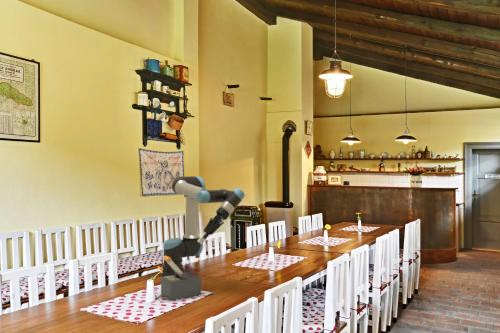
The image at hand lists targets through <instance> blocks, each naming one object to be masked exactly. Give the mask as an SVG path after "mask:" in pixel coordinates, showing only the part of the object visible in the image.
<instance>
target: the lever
mask: <svg viewBox="0 0 500 333" xmlns="http://www.w3.org/2000/svg"><path fill="white" fill-rule="evenodd" d="M162 260H163V261H164V260H165V261H166V262H167V263H168V264H169V265H170V266H171V267H172V268H173V270H174V271H175V272H176V273H177V275H179V276H181V277H182V273H183V272H182V271H181V270H180V269H179V268H178V267H177V266H176V264H175V263H174V262H173V261H172V259H171V258H170V257H168V256H166V255H165V256H164V255H163V256H162Z"/></svg>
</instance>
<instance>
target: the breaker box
mask: <svg viewBox="0 0 500 333" xmlns="http://www.w3.org/2000/svg"><path fill="white" fill-rule="evenodd" d="M162 295H163V296H164V297H163V296H162ZM199 295H201V296H202V276H198V274H197V275H194V274H192V273H182V277H181V276H179V275H177V273H176V272H175V275H172V276H165V277H164V276H160V296H162V297H163V298H165V297H166V298H167V300H168V299H169V300H168V301H170V300H173V301H177V300H176V299H179V300H182V299H181V298H185V299H189V298H188V297H191V298H195V297H194V296H197V297H200V296H199ZM166 298H165V299H166Z"/></svg>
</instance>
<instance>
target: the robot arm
mask: <svg viewBox="0 0 500 333" xmlns="http://www.w3.org/2000/svg"><path fill="white" fill-rule="evenodd" d="M171 182H172V183H171V186H170V187H171V190H172V191H173V192H174V194H177V195H180V196H182V195H183V197H184V198H185V224H184V234H183V235H182V238H180V237H175V238H168V239H166V240H164V242H163V257H164V256H165V255H166V256H168V257H170V258H171V259H172V261H173V262H174V263H175V264H176V266H177V267H178V268H179V269H180V270H181V271H182V272H183V273H184V271H185V268H184V267H183V263H182V258H188V257H196V256H199V255H200V254H202V252H203V249H204V242H205V241H206V239H207V238H209V236H211V235H213V234H214V233H215V232H216V231H217V230H218V229H219V228H220V227H221V226H222V225H224V223H225V222H224V221H225V220H228V218H229V217H230V215H231V214H232V213H233V212H234V210H235V209H236V208H237V206H239V205H240V203H242V201H243V199H244V198H245V196H246V194H245V192H244V191H243V189H240V188H239V187H235V188H233V190H228V189H227V188H226V189H224V188H219V189H206V183H205V181H204V179H203V178H202V177H200V176H192V175H191V176H178V177H176V178H174V179H173V181H171ZM211 203H212V204H213V203H221V205H220V207H218V209H217V210H216V211H215V213H216V215H214V217H211V218H210V219H209V221H208V222H207V224H206V225H205V227H204V229H203V233H202V235H201V236H200V235H199V211H200V209H199V208H200V206H199V205H200V204H211ZM162 269H163V273H161V272H160V277H165V276H172V275H175V271H174V270H173V268H172V267H171V266H170V265H169V264H168V263H167V262H166V261H165V260H164V259H163V264H162V267H161V270H162Z"/></svg>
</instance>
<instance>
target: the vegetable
mask: <svg viewBox="0 0 500 333" xmlns="http://www.w3.org/2000/svg"><path fill="white" fill-rule="evenodd" d="M184 273H192V274H194V275H197V276H198V273H197V272H196V270H194V268H193V267H192V266H190V264H188V263H185V264H184Z"/></svg>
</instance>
